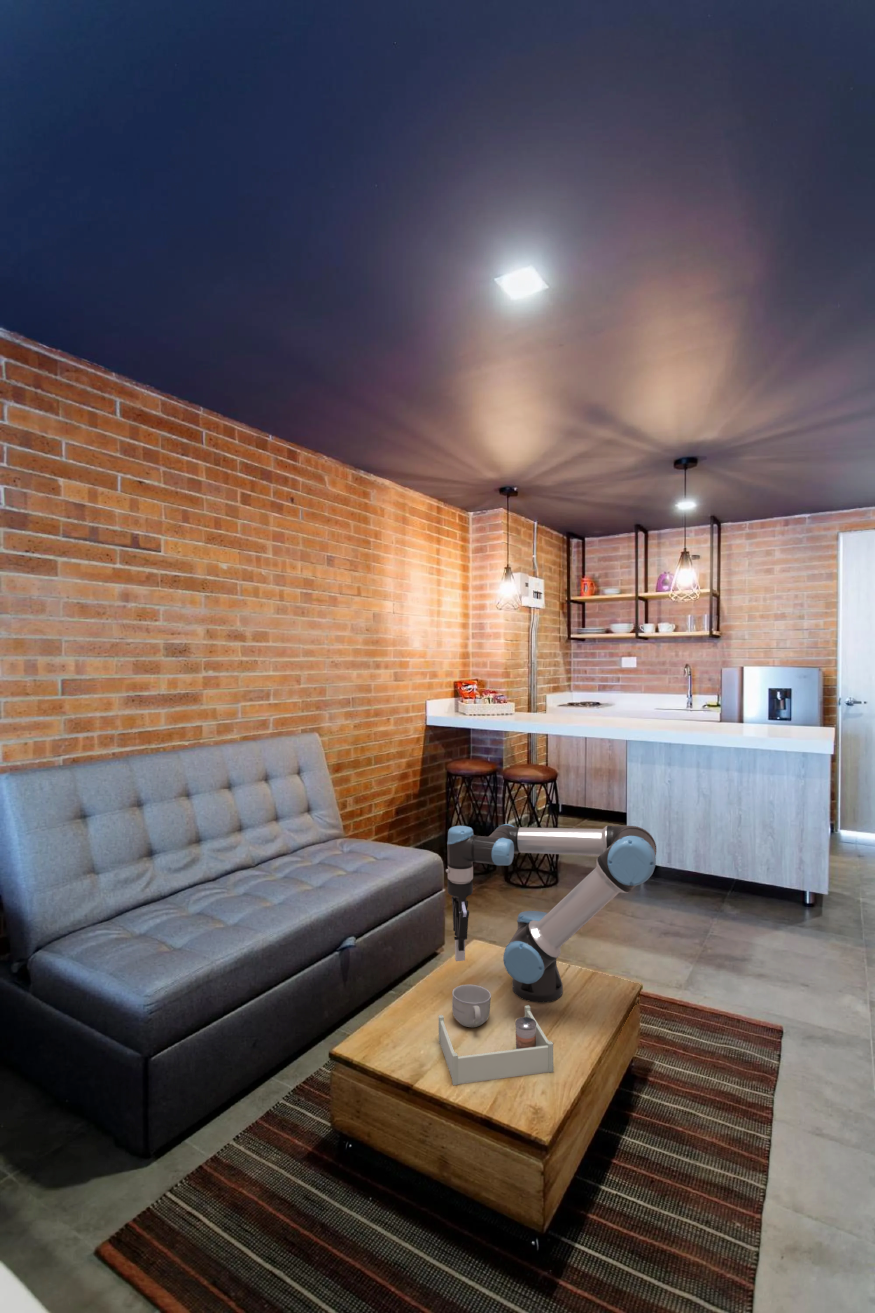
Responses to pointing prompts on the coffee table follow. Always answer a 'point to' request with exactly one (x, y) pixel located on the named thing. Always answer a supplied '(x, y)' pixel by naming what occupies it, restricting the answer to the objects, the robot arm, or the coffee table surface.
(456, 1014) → the teacup
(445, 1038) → the crate
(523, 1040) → the tin can
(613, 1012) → the coffee table surface
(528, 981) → the robot arm
